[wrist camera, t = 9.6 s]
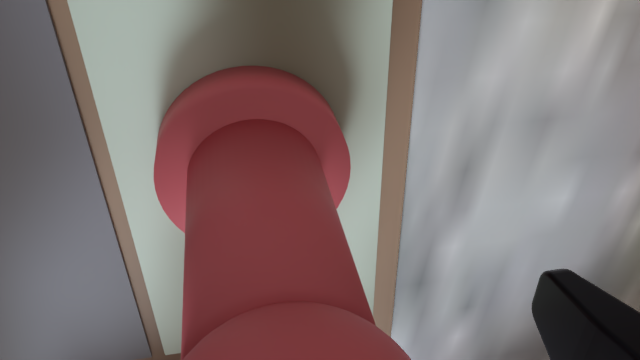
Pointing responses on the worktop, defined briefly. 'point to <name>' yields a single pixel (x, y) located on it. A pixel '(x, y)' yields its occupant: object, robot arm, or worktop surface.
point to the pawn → (263, 222)
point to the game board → (140, 148)
